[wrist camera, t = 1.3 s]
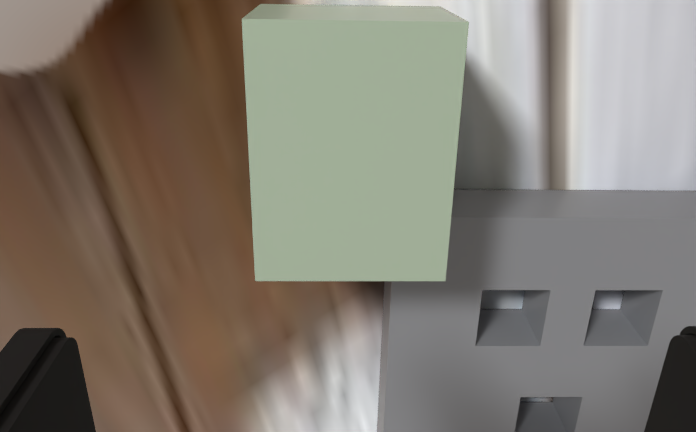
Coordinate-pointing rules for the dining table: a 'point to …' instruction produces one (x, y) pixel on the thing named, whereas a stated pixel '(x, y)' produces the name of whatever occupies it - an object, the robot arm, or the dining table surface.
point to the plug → (352, 139)
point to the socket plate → (541, 314)
